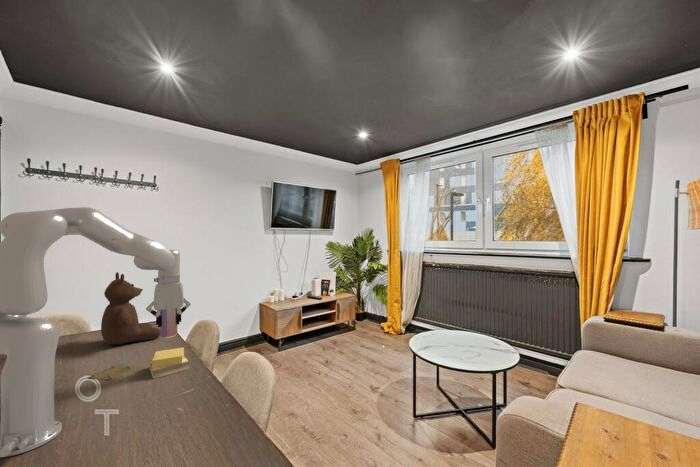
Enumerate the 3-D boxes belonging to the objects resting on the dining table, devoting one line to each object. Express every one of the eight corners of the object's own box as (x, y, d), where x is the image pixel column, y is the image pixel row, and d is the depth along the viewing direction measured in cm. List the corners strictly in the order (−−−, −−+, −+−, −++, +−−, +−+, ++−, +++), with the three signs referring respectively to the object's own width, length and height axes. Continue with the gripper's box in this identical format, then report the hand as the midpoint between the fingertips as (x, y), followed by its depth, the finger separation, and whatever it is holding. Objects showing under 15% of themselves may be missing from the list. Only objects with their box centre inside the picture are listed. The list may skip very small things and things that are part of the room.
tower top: (182, 363, 117) (182, 355, 117) (151, 368, 112) (151, 360, 112) (183, 354, 126) (183, 347, 126) (155, 358, 121) (156, 351, 121)
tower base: (188, 369, 118) (188, 361, 118) (153, 378, 111) (153, 370, 111) (182, 359, 127) (182, 352, 127) (148, 367, 120) (148, 360, 120)
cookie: (112, 382, 109) (112, 379, 109) (86, 379, 111) (86, 376, 111) (141, 368, 120) (141, 365, 120) (117, 365, 123) (117, 363, 123)
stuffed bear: (166, 341, 151) (167, 272, 151) (109, 354, 133) (111, 276, 134) (147, 329, 169) (148, 268, 170) (95, 339, 152) (97, 271, 153)
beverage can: (157, 339, 115) (157, 300, 116) (163, 334, 121) (163, 297, 121) (174, 337, 117) (175, 299, 117) (179, 332, 123) (179, 296, 123)
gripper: (142, 283, 112) (142, 331, 111) (193, 279, 121) (193, 324, 120) (143, 280, 118) (143, 326, 118) (192, 277, 127) (192, 319, 127)
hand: (168, 324), depth 119 cm, fingers closed on beverage can, 5 cm apart
